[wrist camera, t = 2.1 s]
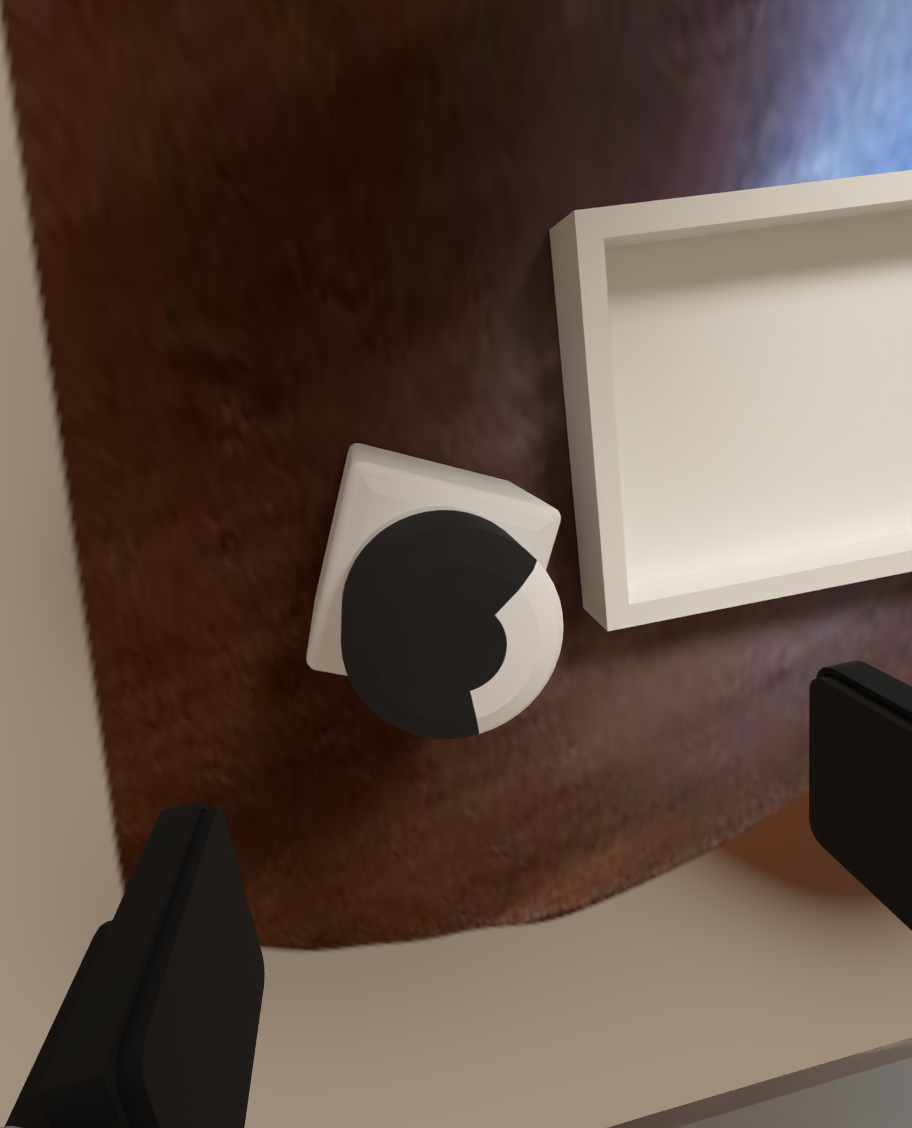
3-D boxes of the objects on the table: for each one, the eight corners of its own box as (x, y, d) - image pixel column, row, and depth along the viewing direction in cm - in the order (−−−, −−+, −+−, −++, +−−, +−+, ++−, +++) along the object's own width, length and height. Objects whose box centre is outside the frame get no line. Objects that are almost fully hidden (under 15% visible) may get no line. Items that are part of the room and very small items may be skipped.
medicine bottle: (313, 603, 28) (291, 750, 17) (350, 440, 27) (353, 480, 15) (470, 634, 30) (548, 788, 18) (514, 481, 28) (627, 546, 17)
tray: (548, 229, 26) (574, 210, 23) (997, 175, 28) (1071, 150, 25) (583, 608, 30) (607, 631, 27) (967, 534, 33) (1027, 548, 30)
